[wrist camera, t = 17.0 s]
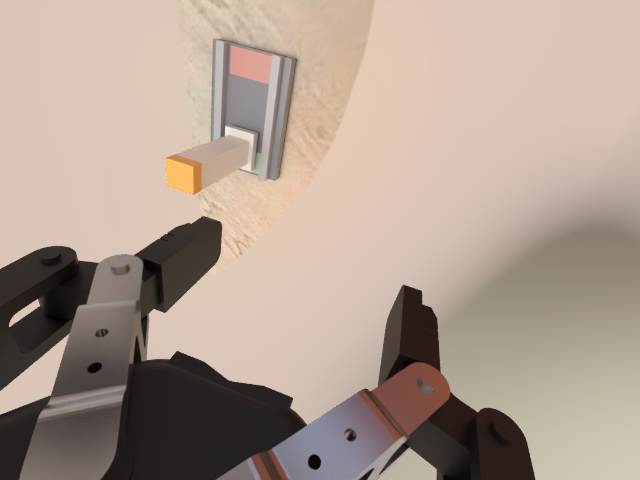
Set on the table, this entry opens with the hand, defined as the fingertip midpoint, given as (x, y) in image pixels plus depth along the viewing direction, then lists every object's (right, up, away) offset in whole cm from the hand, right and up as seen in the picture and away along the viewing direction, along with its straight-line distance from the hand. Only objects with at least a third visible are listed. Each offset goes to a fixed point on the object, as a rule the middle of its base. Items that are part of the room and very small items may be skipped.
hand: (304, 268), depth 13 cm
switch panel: (-8, +18, +29) cm, 35 cm away
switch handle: (-10, +14, +29) cm, 34 cm away
